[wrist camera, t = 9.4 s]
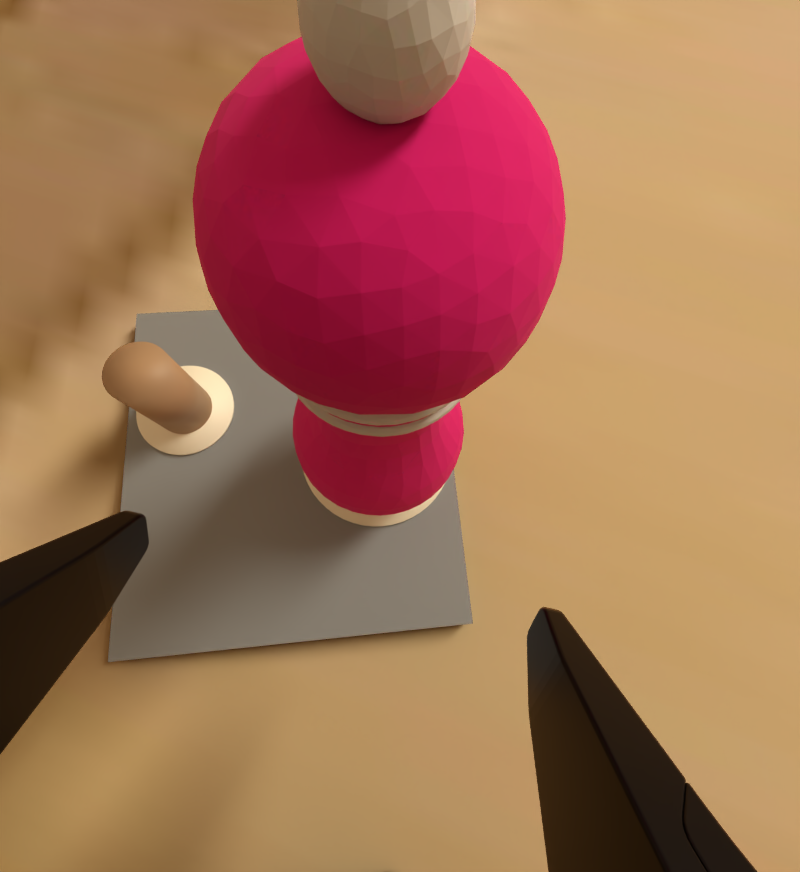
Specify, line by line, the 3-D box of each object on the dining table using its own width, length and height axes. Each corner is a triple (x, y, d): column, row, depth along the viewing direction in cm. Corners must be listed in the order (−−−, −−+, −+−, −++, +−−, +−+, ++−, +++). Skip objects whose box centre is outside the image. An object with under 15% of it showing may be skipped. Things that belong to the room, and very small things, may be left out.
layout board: (120, 657, 21) (20, 696, 15) (145, 323, 25) (77, 254, 20) (468, 620, 22) (501, 643, 16) (430, 308, 27) (445, 240, 21)
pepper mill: (316, 533, 21) (-204, 328, 2) (303, 398, 23) (-41, -346, 4) (457, 511, 22) (1002, 211, 3) (433, 382, 24) (666, -325, 5)
